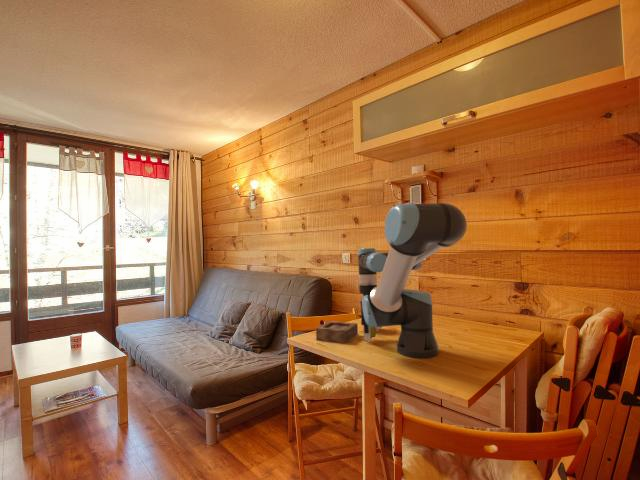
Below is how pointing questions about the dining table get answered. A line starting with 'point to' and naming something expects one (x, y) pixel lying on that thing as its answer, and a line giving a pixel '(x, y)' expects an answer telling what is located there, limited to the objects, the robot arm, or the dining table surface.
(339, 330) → the walnut base
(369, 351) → the dining table surface
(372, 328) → the lemon
